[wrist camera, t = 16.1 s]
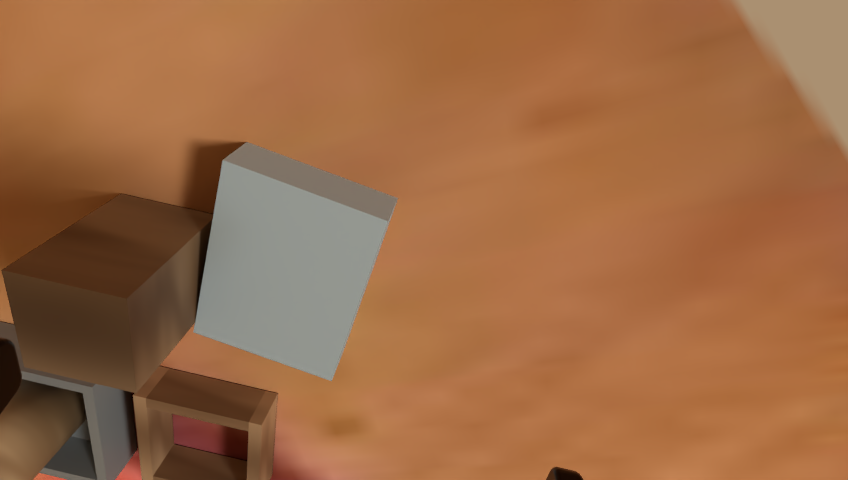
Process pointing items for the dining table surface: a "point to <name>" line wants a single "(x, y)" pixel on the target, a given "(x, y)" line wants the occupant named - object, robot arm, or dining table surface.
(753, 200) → the dining table surface
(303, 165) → the pale grey box
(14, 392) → the robot arm
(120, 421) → the tray
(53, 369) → the block
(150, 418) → the socket block
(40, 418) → the dowel
